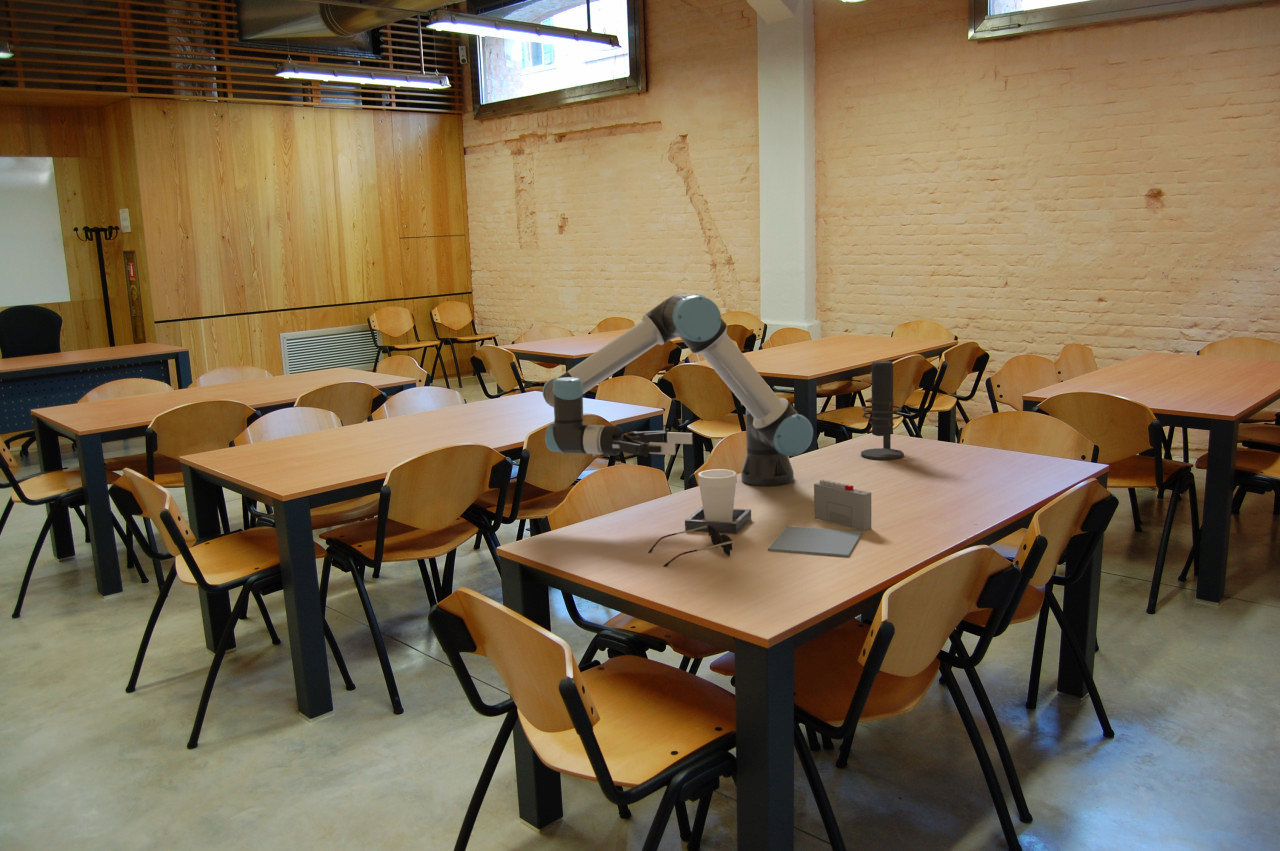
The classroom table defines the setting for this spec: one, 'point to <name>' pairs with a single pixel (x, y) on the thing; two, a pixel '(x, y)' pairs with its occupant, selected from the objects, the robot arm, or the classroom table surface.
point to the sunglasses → (715, 538)
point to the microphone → (882, 411)
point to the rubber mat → (816, 541)
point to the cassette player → (842, 505)
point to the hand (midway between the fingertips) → (683, 443)
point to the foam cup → (717, 494)
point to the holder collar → (723, 527)
